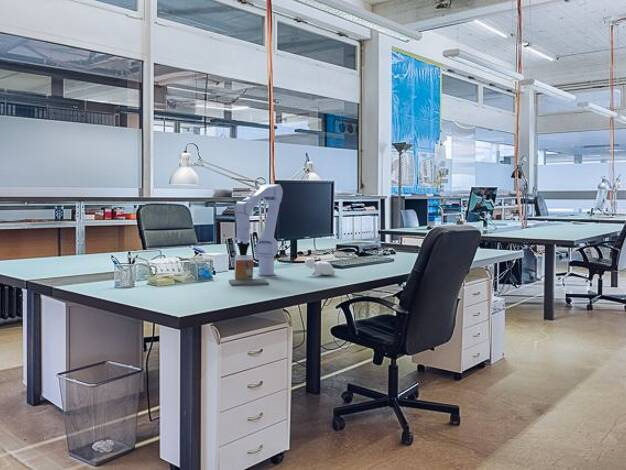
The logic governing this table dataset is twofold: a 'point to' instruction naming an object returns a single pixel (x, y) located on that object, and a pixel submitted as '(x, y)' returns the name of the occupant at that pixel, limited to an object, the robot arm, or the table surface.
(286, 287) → the table surface
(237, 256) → the small box
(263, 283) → the mat
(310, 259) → the white animal figurine
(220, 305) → the table surface
